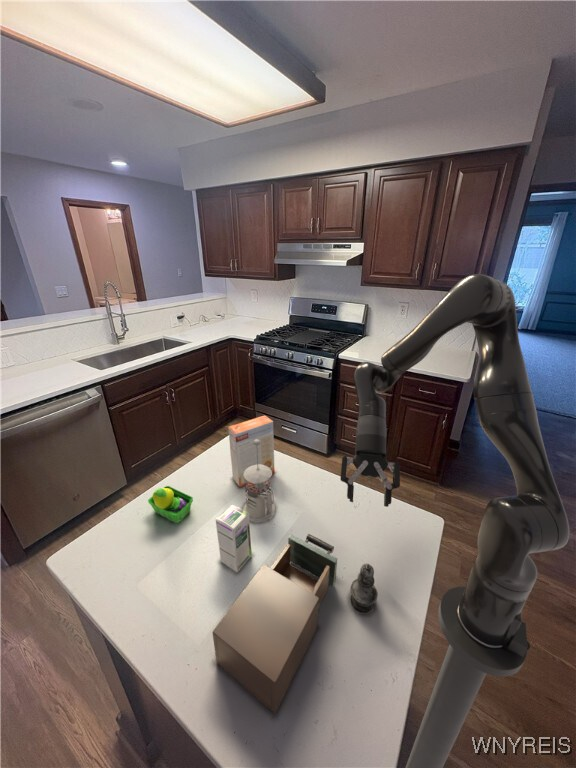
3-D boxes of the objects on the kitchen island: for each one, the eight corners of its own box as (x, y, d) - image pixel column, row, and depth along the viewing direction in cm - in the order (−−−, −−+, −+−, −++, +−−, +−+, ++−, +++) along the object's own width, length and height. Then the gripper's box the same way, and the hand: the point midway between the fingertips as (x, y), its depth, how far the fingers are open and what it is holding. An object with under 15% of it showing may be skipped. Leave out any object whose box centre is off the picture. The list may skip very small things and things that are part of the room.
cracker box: (266, 464, 115) (265, 414, 107) (275, 472, 111) (274, 421, 102) (231, 478, 108) (227, 425, 100) (239, 488, 103) (235, 433, 95)
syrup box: (237, 573, 76) (234, 529, 70) (219, 561, 79) (215, 518, 73) (252, 555, 80) (250, 513, 75) (234, 545, 83) (231, 503, 78)
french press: (263, 493, 101) (262, 426, 91) (285, 515, 93) (286, 445, 83) (236, 507, 95) (232, 437, 86) (257, 532, 87) (254, 458, 77)
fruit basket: (196, 510, 94) (192, 480, 90) (173, 532, 87) (168, 500, 82) (169, 497, 99) (163, 468, 94) (145, 516, 92) (138, 486, 87)
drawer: (299, 543, 83) (300, 521, 80) (342, 566, 77) (345, 544, 74) (255, 607, 68) (254, 583, 65) (305, 642, 62) (306, 617, 59)
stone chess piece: (344, 593, 72) (348, 556, 67) (366, 585, 74) (372, 548, 69) (357, 619, 67) (363, 581, 62) (381, 610, 68) (388, 572, 64)
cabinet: (264, 592, 72) (263, 563, 68) (317, 627, 65) (319, 597, 61) (216, 662, 59) (212, 631, 56) (275, 714, 53) (275, 683, 49)
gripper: (397, 442, 82) (396, 508, 76) (342, 436, 84) (337, 500, 78) (403, 435, 75) (403, 508, 69) (343, 429, 77) (338, 499, 71)
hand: (368, 503), depth 74 cm, fingers open, 7 cm apart
